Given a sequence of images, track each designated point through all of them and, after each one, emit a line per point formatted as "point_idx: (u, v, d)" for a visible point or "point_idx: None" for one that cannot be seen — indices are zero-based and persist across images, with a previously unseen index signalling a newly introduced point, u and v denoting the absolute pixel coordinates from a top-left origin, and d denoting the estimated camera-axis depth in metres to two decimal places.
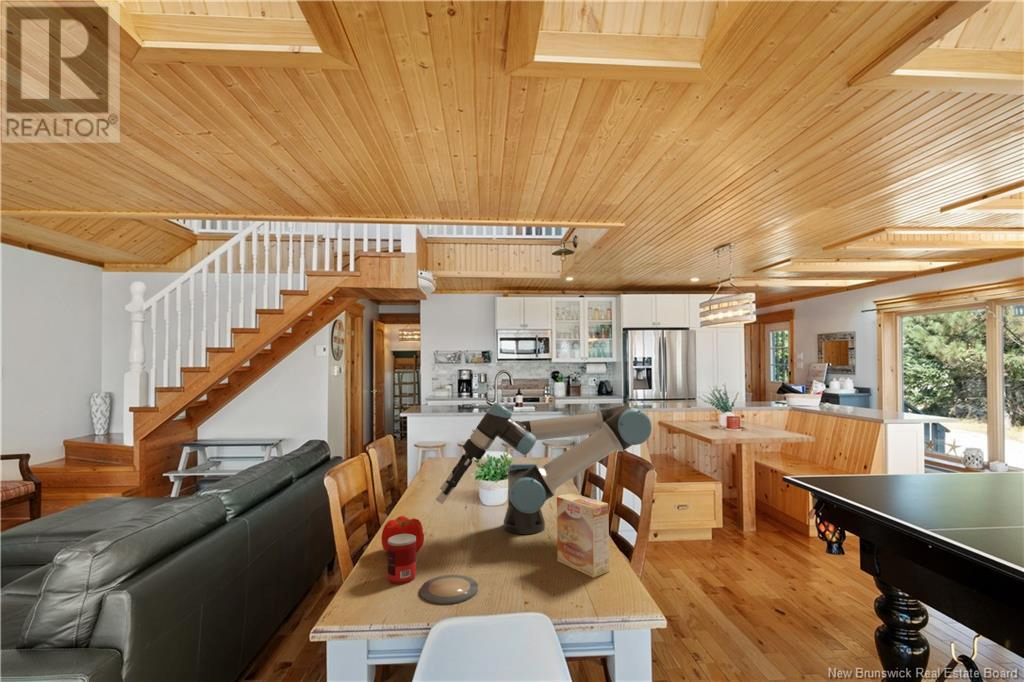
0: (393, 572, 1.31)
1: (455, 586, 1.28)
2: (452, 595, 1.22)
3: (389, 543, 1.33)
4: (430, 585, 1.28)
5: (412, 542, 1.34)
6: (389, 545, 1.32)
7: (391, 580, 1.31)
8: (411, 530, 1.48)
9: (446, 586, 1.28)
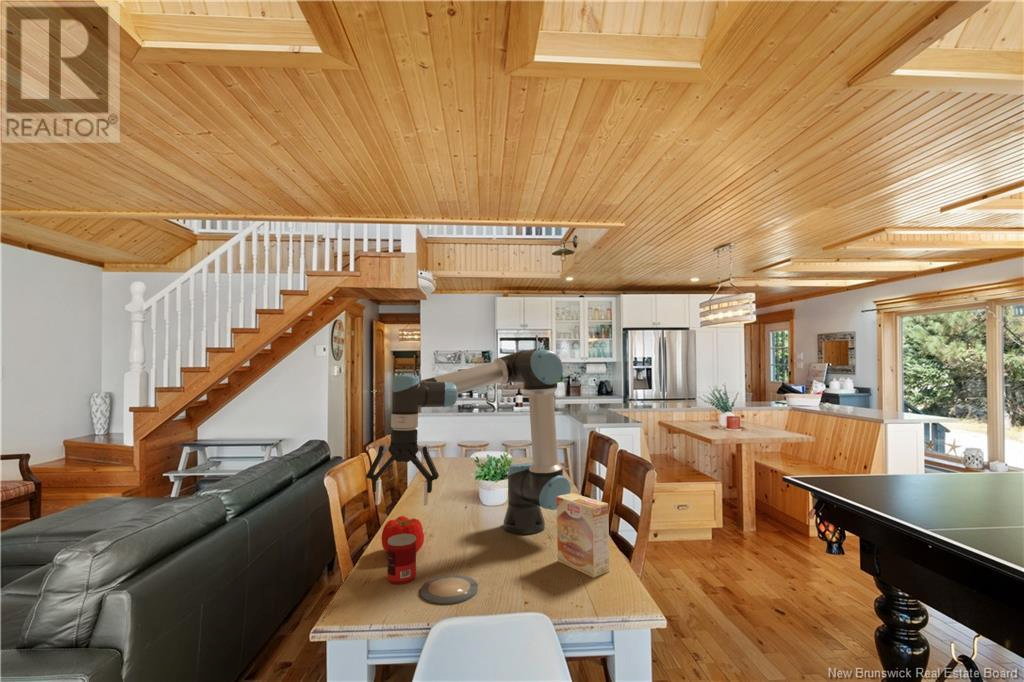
0: (393, 572, 1.31)
1: (455, 586, 1.28)
2: (452, 595, 1.22)
3: (389, 543, 1.33)
4: (430, 585, 1.28)
5: (412, 541, 1.34)
6: (389, 545, 1.32)
7: (391, 580, 1.31)
8: (411, 530, 1.48)
9: (446, 586, 1.28)
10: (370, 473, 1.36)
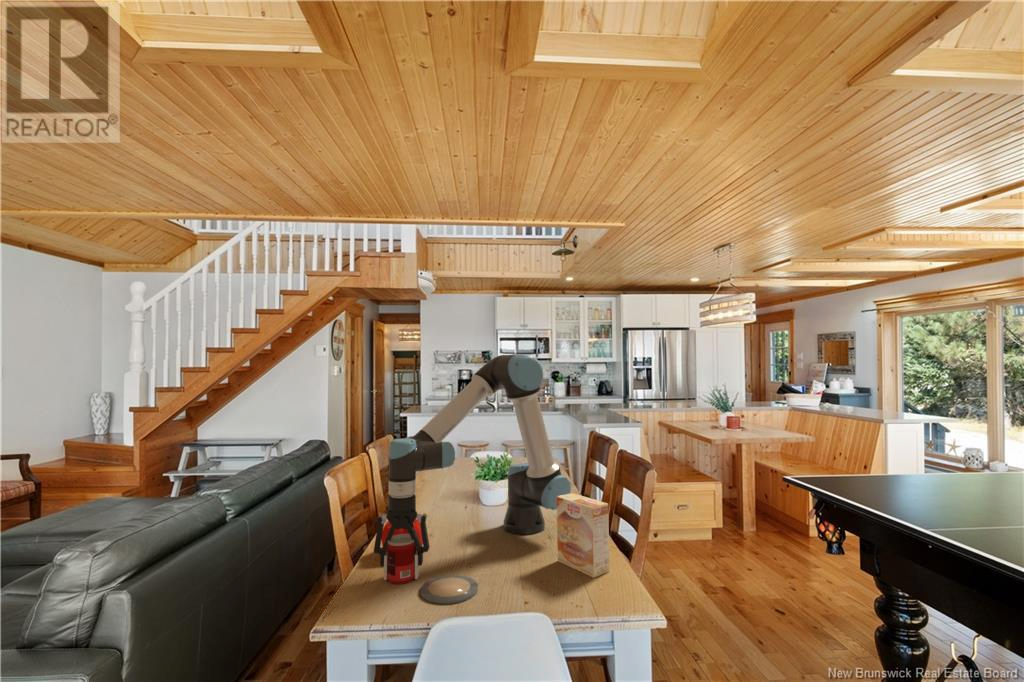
0: (393, 572, 1.31)
1: (455, 586, 1.28)
2: (452, 595, 1.22)
3: (389, 543, 1.33)
4: (430, 585, 1.28)
5: (412, 541, 1.34)
6: (389, 545, 1.32)
7: (391, 580, 1.31)
8: None
9: (446, 586, 1.28)
10: (377, 547, 1.34)
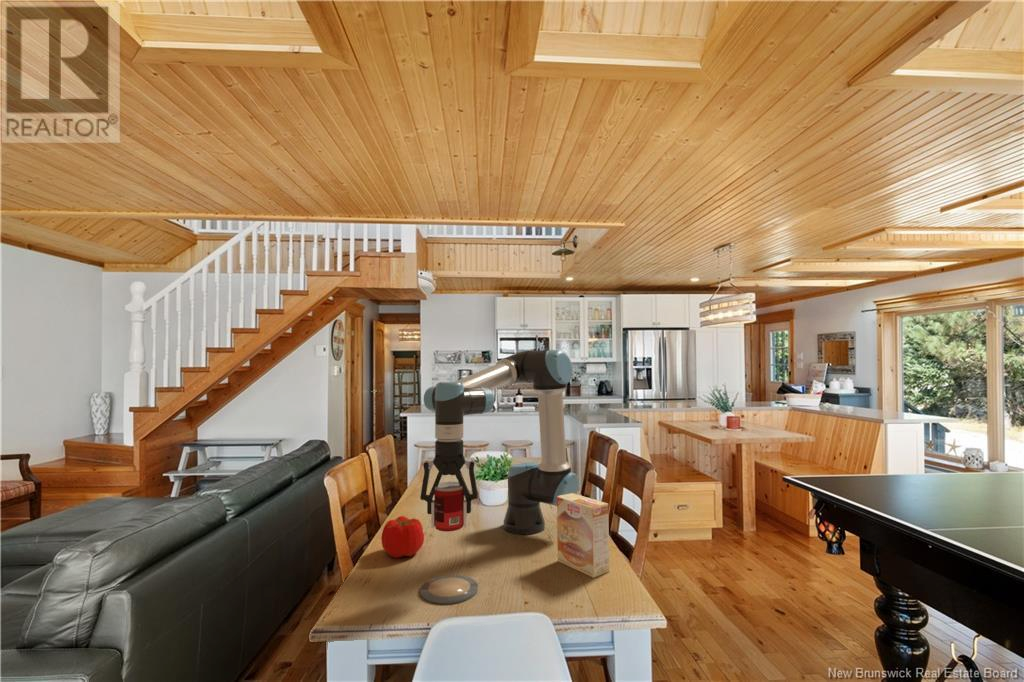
0: (442, 519, 1.25)
1: (455, 586, 1.28)
2: (452, 595, 1.22)
3: (437, 489, 1.26)
4: (430, 585, 1.28)
5: (461, 488, 1.27)
6: (437, 491, 1.26)
7: (439, 527, 1.25)
8: (411, 530, 1.48)
9: (446, 586, 1.28)
10: (423, 494, 1.27)
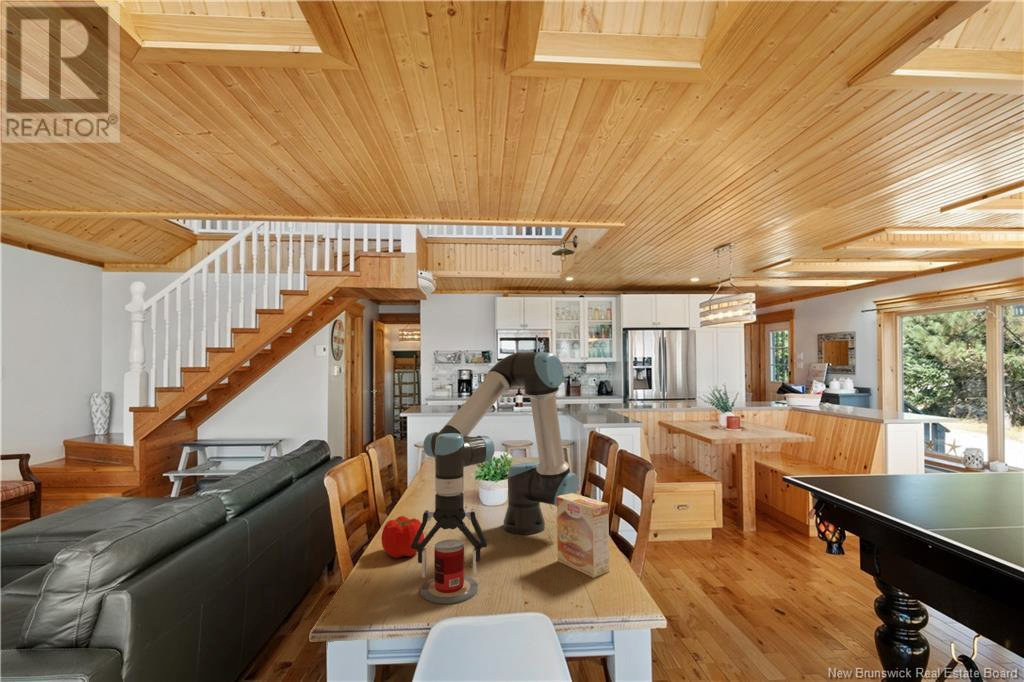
0: (442, 581, 1.24)
1: None
2: (452, 595, 1.22)
3: (437, 549, 1.25)
4: (430, 585, 1.28)
5: (461, 548, 1.26)
6: (437, 552, 1.25)
7: (439, 589, 1.24)
8: (411, 530, 1.48)
9: None
10: (415, 543, 1.26)
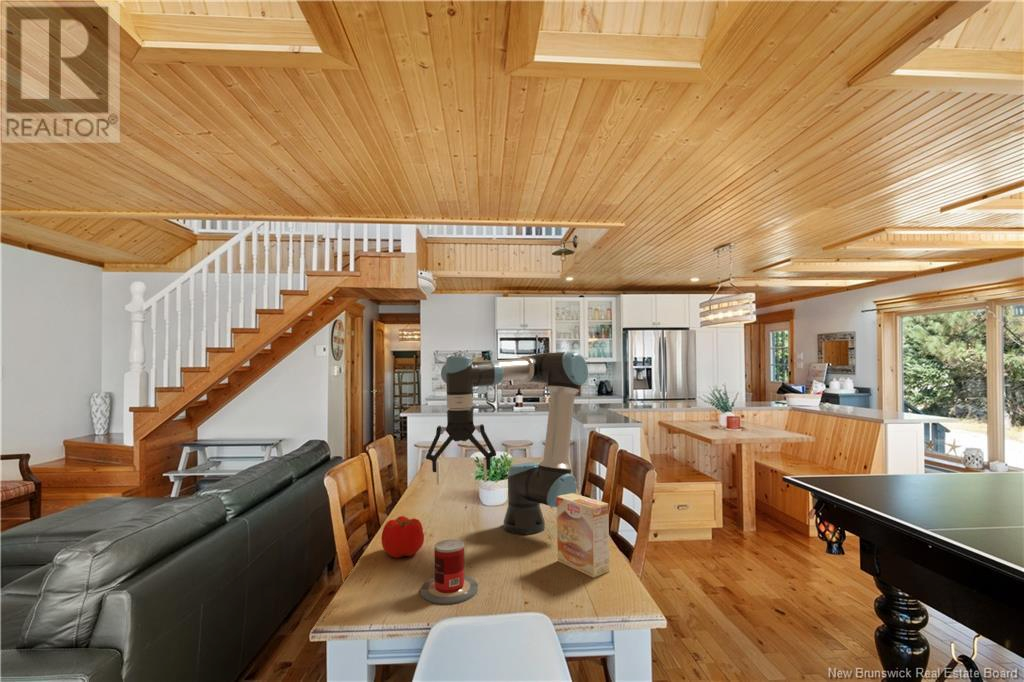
0: (442, 581, 1.24)
1: None
2: (452, 595, 1.22)
3: (437, 549, 1.25)
4: (430, 585, 1.28)
5: (461, 548, 1.26)
6: (437, 552, 1.25)
7: (439, 589, 1.24)
8: (411, 530, 1.48)
9: None
10: (429, 454, 1.38)
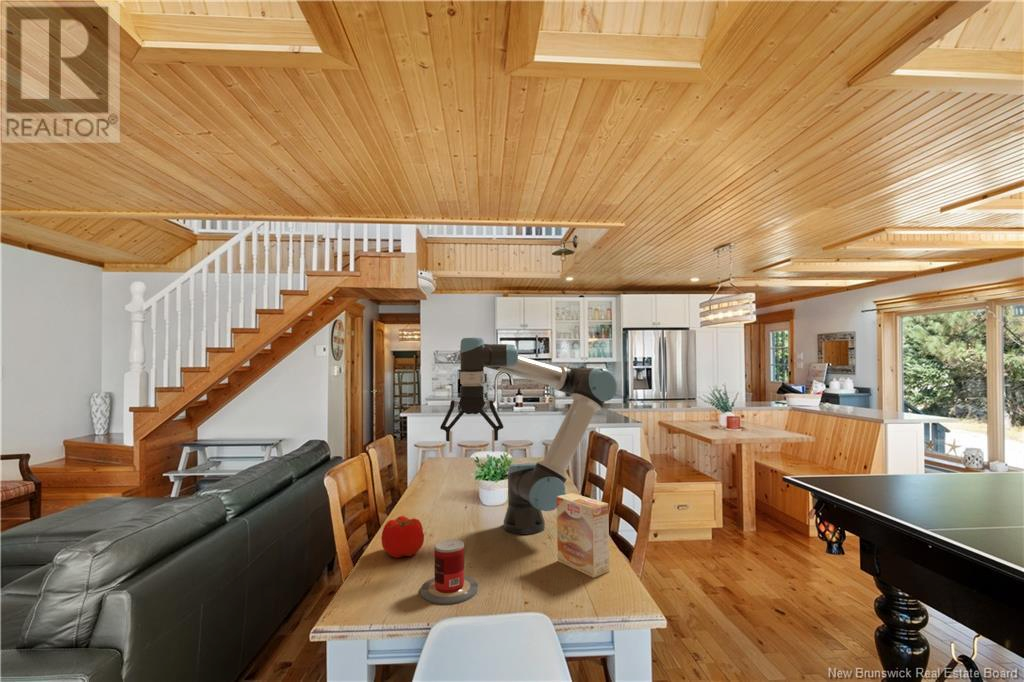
0: (442, 581, 1.24)
1: None
2: (452, 595, 1.22)
3: (437, 549, 1.25)
4: (430, 585, 1.28)
5: (461, 548, 1.26)
6: (437, 552, 1.25)
7: (439, 589, 1.24)
8: (411, 530, 1.48)
9: None
10: (444, 425, 1.54)
